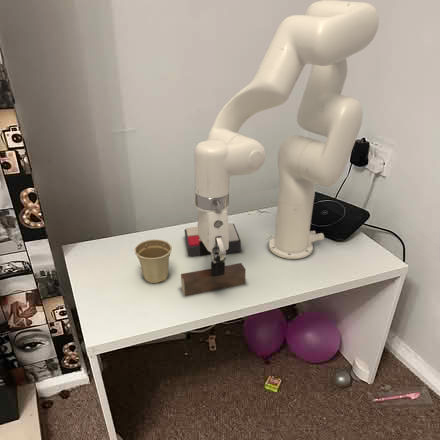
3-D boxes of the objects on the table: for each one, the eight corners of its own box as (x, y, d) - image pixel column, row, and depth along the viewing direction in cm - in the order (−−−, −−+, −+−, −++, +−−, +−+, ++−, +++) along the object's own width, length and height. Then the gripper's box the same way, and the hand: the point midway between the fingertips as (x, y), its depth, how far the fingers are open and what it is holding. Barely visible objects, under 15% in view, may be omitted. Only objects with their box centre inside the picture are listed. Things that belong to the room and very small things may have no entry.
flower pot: (172, 265, 120) (170, 237, 114) (175, 285, 112) (173, 256, 107) (137, 268, 118) (134, 240, 113) (138, 289, 111) (134, 260, 106)
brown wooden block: (240, 277, 115) (241, 262, 112) (245, 284, 112) (245, 269, 110) (181, 288, 111) (180, 273, 108) (184, 296, 108) (184, 281, 106)
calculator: (184, 226, 130) (233, 220, 131) (185, 239, 132) (234, 233, 133) (187, 245, 121) (240, 238, 122) (189, 258, 123) (241, 251, 125)
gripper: (241, 213, 92) (238, 281, 102) (215, 183, 105) (215, 245, 115) (207, 218, 90) (207, 286, 100) (185, 186, 103) (187, 250, 113)
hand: (211, 264), depth 107 cm, fingers open, 9 cm apart
